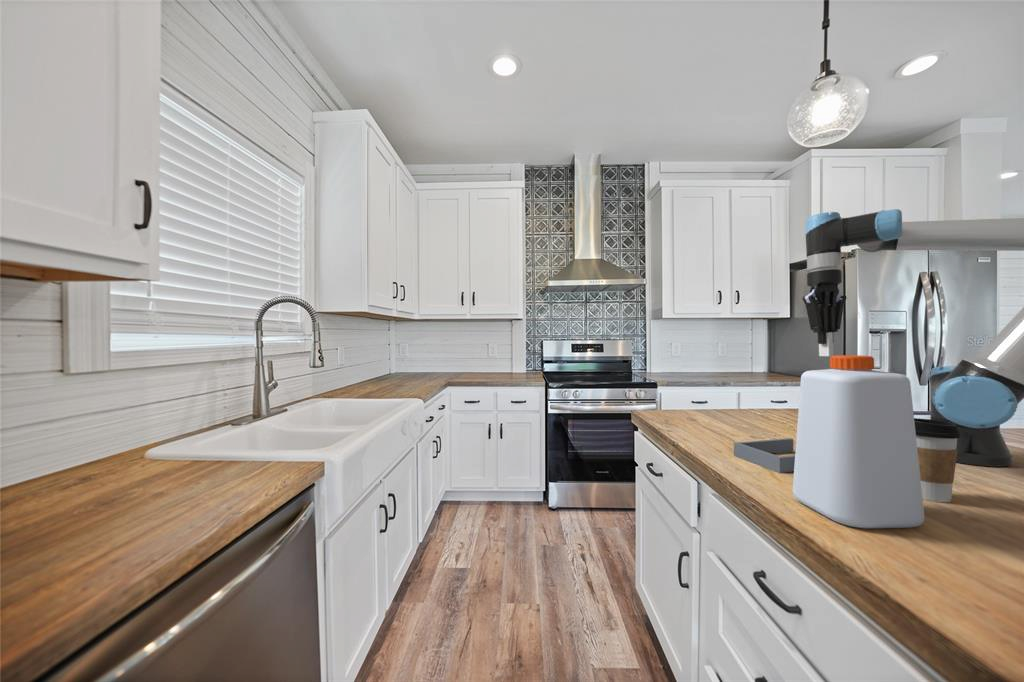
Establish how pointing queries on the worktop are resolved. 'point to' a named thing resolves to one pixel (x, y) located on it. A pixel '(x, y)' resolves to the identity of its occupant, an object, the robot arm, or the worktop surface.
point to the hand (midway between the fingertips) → (826, 355)
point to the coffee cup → (936, 457)
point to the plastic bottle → (858, 446)
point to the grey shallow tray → (767, 453)
